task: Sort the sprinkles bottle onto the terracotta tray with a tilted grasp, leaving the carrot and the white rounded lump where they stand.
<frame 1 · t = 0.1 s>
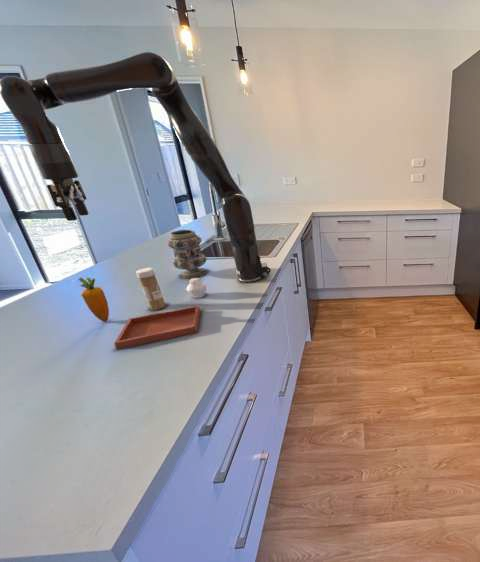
hand: (78, 217, 92), 29 cm above the worktop, tool pointing down, fingers open, 8 cm apart
carrot: (106, 322, 92), on the worktop
tray: (163, 328, 88), on the worktop
sprinkles bottle: (158, 307, 100), on the worktop
white rounded lump: (199, 296, 107), on the worktop
ornate carved vase: (193, 274, 126), on the worktop
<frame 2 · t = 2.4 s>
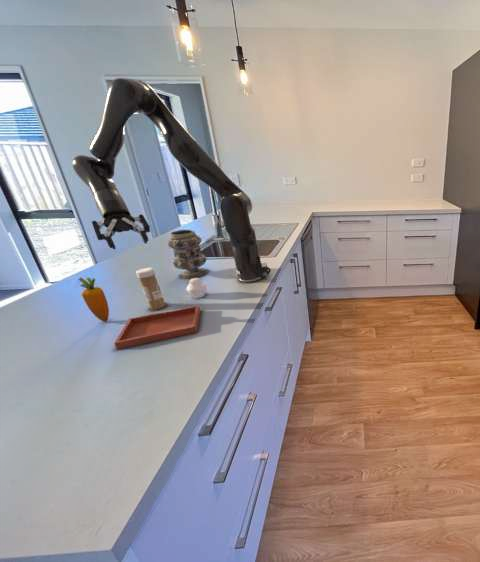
hand: (130, 244, 99), 19 cm above the worktop, tool tilted 45°, fingers open, 8 cm apart
nothing on the worktop moved.
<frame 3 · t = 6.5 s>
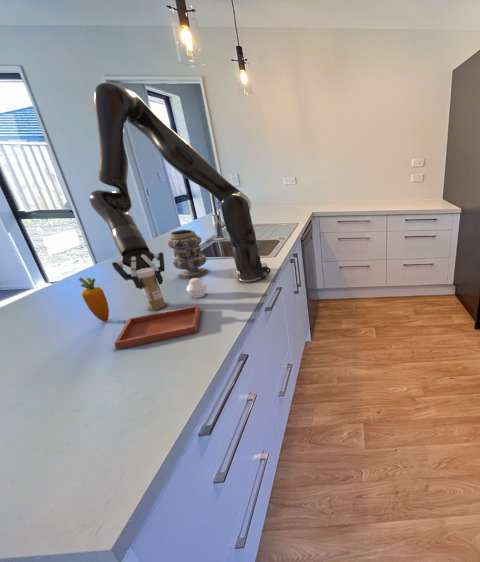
hand: (151, 285, 95), 9 cm above the worktop, tool tilted 45°, fingers closed on sprinkles bottle, 4 cm apart
sprinkles bottle: (158, 307, 100), on the worktop, touching gripper
everything else where it was.
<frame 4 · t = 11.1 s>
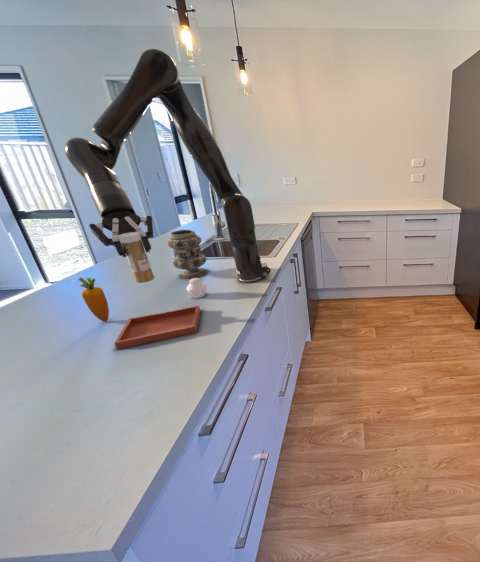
hand: (136, 252, 80), 23 cm above the worktop, tool tilted 45°, fingers closed on sprinkles bottle, 4 cm apart
sprinkles bottle: (145, 280, 85), point 14 cm above the worktop, touching gripper
everything else where it was.
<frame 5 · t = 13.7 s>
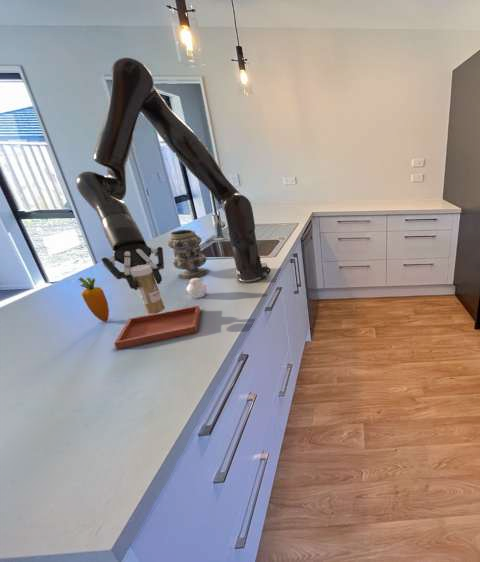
hand: (147, 285, 81), 15 cm above the worktop, tool tilted 45°, fingers closed on sprinkles bottle, 4 cm apart
sprinkles bottle: (156, 311, 86), point 6 cm above the worktop, touching gripper
everything else where it was.
when the fingers open (9 cm above the worktop, at t = 15.7 s): sprinkles bottle stays where it is, resting on tray.
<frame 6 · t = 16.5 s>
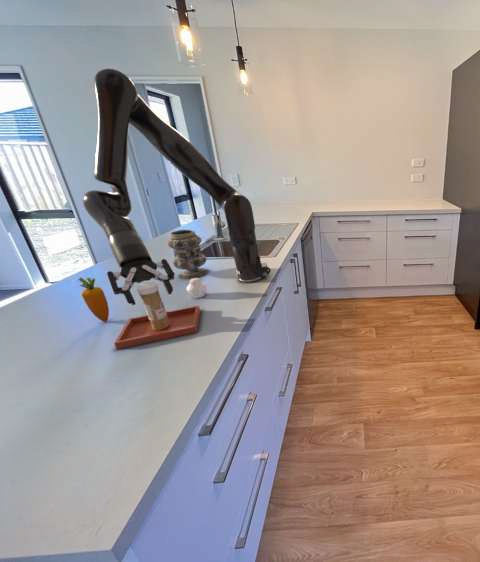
hand: (152, 298, 83), 10 cm above the worktop, tool tilted 45°, fingers open, 8 cm apart
sprinkles bottle: (162, 327, 88), resting on tray
everything else where it was.
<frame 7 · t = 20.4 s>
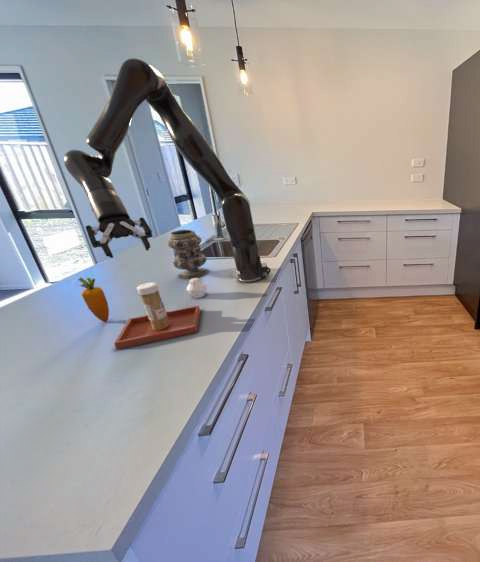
hand: (130, 252, 87), 21 cm above the worktop, tool tilted 45°, fingers open, 8 cm apart
nothing on the worktop moved.
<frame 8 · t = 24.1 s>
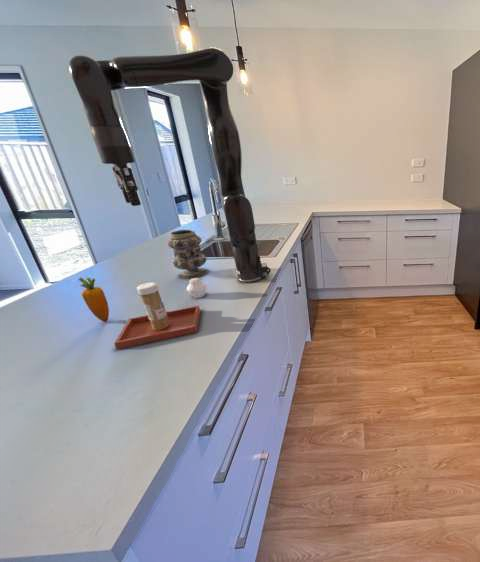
hand: (133, 203, 90), 33 cm above the worktop, tool pointing down, fingers open, 8 cm apart
nothing on the worktop moved.
at the end: sprinkles bottle inside the target area in the tray (0.2 cm from its centre), point 0.3 cm above the tray's base; sprinkles bottle tilted 0°; carrot moved 0.2 cm from its start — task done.
